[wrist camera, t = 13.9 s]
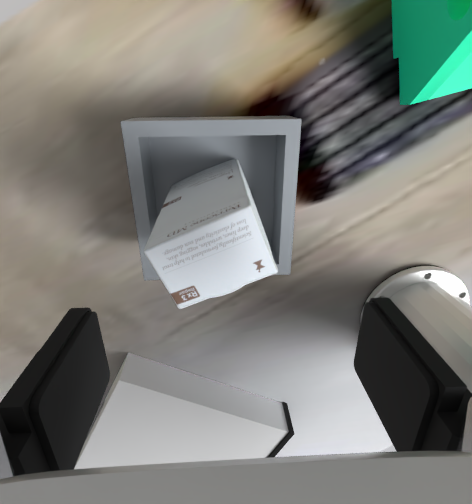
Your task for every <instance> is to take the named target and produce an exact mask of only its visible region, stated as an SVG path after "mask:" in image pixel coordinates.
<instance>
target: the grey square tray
mask: <svg viewBox="0 0 472 504" xmlns="http://www.w3.org/2000/svg"><path fill="white" fill-rule="evenodd" d="M121 127H122V134H123V141H124V148H125V154H126V161H127V168H128V174H129V181H130V188H131V195H132V201H133V208H134V215H135V222H136V228H137V235H138V242H139V249H140V255H141V262H142V269H143V276H144V280H161V279H160V277H159V276H158V274H157V273H156V271H155V269H154V268H153V266H152V265H151V263H150V261H149V260H148V258H147V257H146V255H145V253H144V249H145V246H146V244H147V242H148V239H149V237H150V235H151V232H152V230H153V228H154V225H155V223H156V220H157V218H158V216H159V214H160V211H161V209H162V206H163V204H164V202H165V200H166V197H167V195H168V192H169V190H170V188H171V186H172V185H173V184H175V183H177V182H179V181H181V180H183V179H185V178H187V177H190V176H192V175H194V174H196V173H199V172H201V171H203V170H206V169H208V168H210V167H213V166H215V165H218V164H221V163H224V162H226V161H229V160H232V159H237V160H238V161H239V164H240V166H241V168H242V171H243V173H244V176H245V178H246V181H247V183H248V186H249V189H250V191H251V194H252V196H253V199H254V202H255V205H256V208H257V211H258V214H259V217H260V219H261V222H262V225H263V228H264V230H265V233H266V236H267V239H268V242H269V245H270V248H271V252H272V255H273V259H274V261H275V264H276V266H277V268H278V272H277V273H276V274H273V275H288V274H290V271H291V257H292V243H293V230H294V216H295V202H296V188H297V174H298V160H299V147H300V133H301V119H299V118H295V117H290V116H236V117H153V118H132V119H128V120H124V121H121Z"/></svg>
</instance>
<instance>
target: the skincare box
mask: <svg viewBox="0 0 472 504" xmlns="http://www.w3.org/2000/svg"><path fill="white" fill-rule="evenodd" d="M144 253H145V255H146V257H147V258H148V260H149V261H150V263H151V265H152V266H153V268H154V269H155V271H156V273H157V274H158V276H159V277H160V279H161V281H162V282H163V284H164V286H165V287H166V289H167V291H168V292H169V294H170V295H171V297H172V299H173V300H174V302H175V304H176V306H177V307H178V308H179V309H183V308H185V307H188V306H190V305H193V304H196V303H198V302H201V301H204V300H206V299H209V298H213V297H219V296H223V295H226V294H229V293H232V292H234V291H236V290H238V289H240V288H241V287H242V286H244V285H246V284H249V283H252V282H254V281H257V280H260V279H262V278H265V277H268V276H270V275H273V274H276V273H277V272H278V268H277V266H276V264H275V261H274V259H273V255H272V252H271V248H270V245H269V242H268V239H267V236H266V233H265V230H264V228H263V225H262V222H261V219H260V217H259V214H258V211H257V208H256V205H255V202H254V199H253V196H252V194H251V191H250V189H249V186H248V183H247V181H246V178H245V176H244V173H243V171H242V168H241V166H240V164H239V161H238V160H237V159H232V160H229V161H226V162H224V163H221V164H218V165H215V166H213V167H210V168H208V169H206V170H203V171H201V172H199V173H196V174H194V175H192V176H190V177H187V178H185V179H183V180H181V181H179V182H177V183H175V184H173V185H172V186H171V188H170V190H169V192H168V195H167V197H166V200H165V202H164V204H163V206H162V209H161V211H160V214H159V216H158V218H157V220H156V223H155V225H154V228H153V230H152V232H151V235H150V237H149V239H148V242H147V244H146V246H145V249H144Z"/></svg>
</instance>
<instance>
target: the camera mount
mask: <svg viewBox="0 0 472 504" xmlns="http://www.w3.org/2000/svg"><path fill="white" fill-rule="evenodd" d="M392 31H393V59H395V58H399V86H400V105H411V104H414V103H418V102H422V101H426V100H429V99H433V98H437V97H441V96H444V95H448V94H452V93H456V92H459V91H463V90H467V89H471V88H472V0H392Z"/></svg>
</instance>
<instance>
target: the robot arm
mask: <svg viewBox="0 0 472 504" xmlns="http://www.w3.org/2000/svg"><path fill="white" fill-rule="evenodd" d="M469 303H470V297H469V293H468V289H467V287H466V286H465V284H464V282H463V281H462V280H461V279H460V278H459V277H457V276H456V275H455V274H453V273H452V272H450V271H448V270H446V269H443V268H440V267H435V266H419V267H413V268H409V269H406V270H403V271H400V272H398V273H396V274H394V275H392V276H391V277H389V278H388V279H386V280H385V281H383V282H382V283H381V284H380V285H379V286H378V287H377V288H376V289H375V290H374V291H373V292H372V293H371V295H370V296H369V297H368V299H367V301H366V303H365V304H364V306H363V309H362V313H361V319H360V331H359V336H358V342H357V347H356V353H355V358H354V367H355V371H356V373H357V375H358V377H359V379H360V381H361V383H362V385H363V387H364V389H365V390H366V392H367V394H368V396H369V398H370V400H371V402H372V404H373V406H374V408H375V410H376V412H377V414H378V416H379V418H380V420H381V422H382V424H383V426H384V427H385V429H386V431H387V433H388V435H389V437H390V439H391V441H392V443H393V445H394V447H395V449H396V451H397V452H373V453H352V454H331V455H310V456H290V457H271V458H252V459H234V460H215V461H197V462H180V463H163V464H146V465H130V466H113V467H99V468H86V469H74V468H75V465H76V463H77V460H78V457H79V455H80V452H81V450H82V447H83V445H84V442H85V440H86V437H87V435H88V432H89V430H90V427H91V425H92V422H93V420H94V417H95V415H96V412H97V410H98V407H99V405H100V402H101V400H102V397H103V395H104V392H105V390H106V387H107V385H108V382H109V377H110V372H109V367H108V362H107V358H106V353H105V349H104V344H103V340H102V335H101V331H100V326H99V322H98V318H97V314H96V312H92V311H91V309H90V308H71V309H70V310H69V311H68V312H67V314H66V315H65V316H64V318H63V319H62V321H61V322H60V323H59V325H58V326H57V327H56V329H55V330H54V332H53V333H52V334H51V336H50V337H49V338H48V340H47V341H46V342H45V344H44V345H43V347H42V348H41V349H40V350H39V351H38V352H37V353H36V355H35V356H34V357H33V359H32V360H31V362H30V363H29V364H28V366H27V367H26V368H25V370H24V371H23V373H22V374H21V375H20V377H19V378H18V379H17V381H16V382H15V383H14V385H13V386H12V388H11V389H10V390H9V392H8V393H7V394H6V396H5V397H4V398H3V400H2V401H1V403H0V504H472V306H470V305H469Z"/></svg>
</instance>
